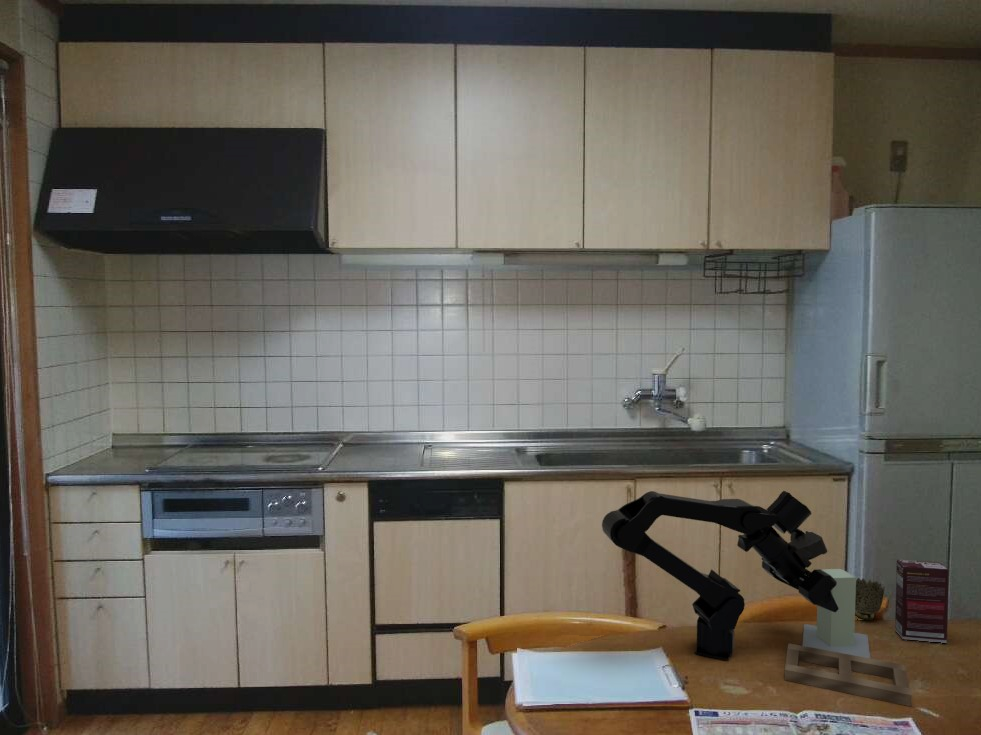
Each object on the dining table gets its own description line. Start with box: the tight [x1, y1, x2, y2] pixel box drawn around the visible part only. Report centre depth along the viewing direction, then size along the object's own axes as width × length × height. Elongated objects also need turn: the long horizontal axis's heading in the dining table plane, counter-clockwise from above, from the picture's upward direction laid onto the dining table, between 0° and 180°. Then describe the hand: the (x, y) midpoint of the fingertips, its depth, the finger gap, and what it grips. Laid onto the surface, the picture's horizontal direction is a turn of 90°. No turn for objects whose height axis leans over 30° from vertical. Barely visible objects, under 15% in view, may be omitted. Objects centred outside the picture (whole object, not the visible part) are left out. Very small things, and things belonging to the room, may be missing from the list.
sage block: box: [816, 568, 857, 646], centre depth 141 cm, size 5×5×14 cm
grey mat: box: [801, 623, 871, 659], centre depth 141 cm, size 12×12×1 cm
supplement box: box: [894, 559, 950, 644], centre depth 145 cm, size 9×5×16 cm, turn 77°
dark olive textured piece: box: [855, 577, 886, 622], centre depth 155 cm, size 8×7×8 cm
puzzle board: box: [784, 642, 912, 707], centre depth 128 cm, size 20×12×2 cm, turn 64°
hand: (822, 601), depth 141 cm, fingers open, 9 cm apart
